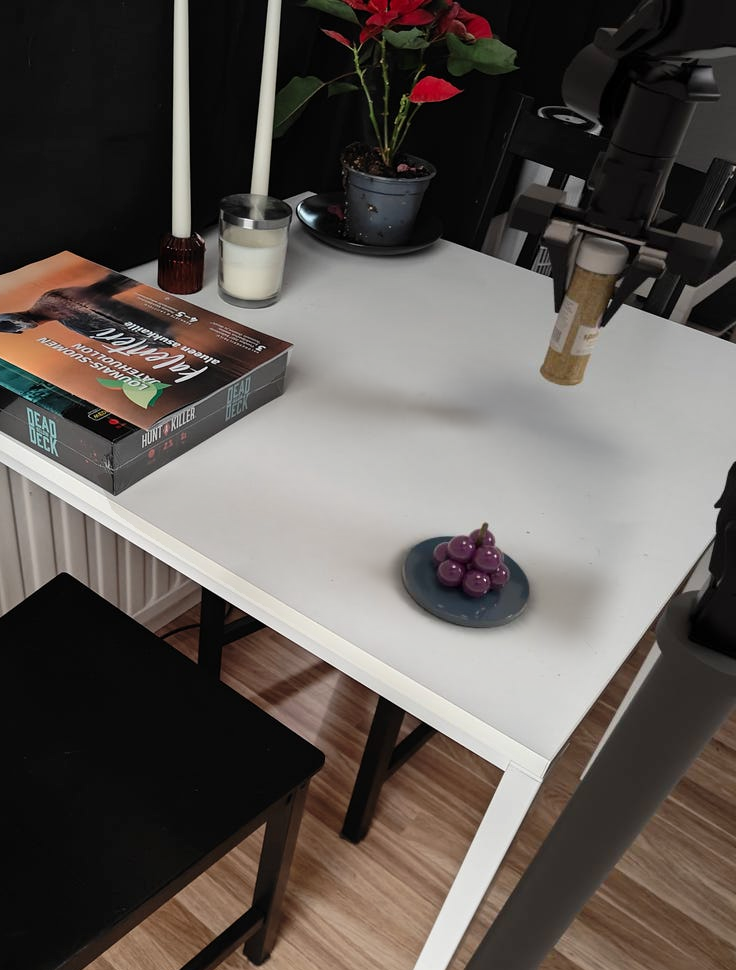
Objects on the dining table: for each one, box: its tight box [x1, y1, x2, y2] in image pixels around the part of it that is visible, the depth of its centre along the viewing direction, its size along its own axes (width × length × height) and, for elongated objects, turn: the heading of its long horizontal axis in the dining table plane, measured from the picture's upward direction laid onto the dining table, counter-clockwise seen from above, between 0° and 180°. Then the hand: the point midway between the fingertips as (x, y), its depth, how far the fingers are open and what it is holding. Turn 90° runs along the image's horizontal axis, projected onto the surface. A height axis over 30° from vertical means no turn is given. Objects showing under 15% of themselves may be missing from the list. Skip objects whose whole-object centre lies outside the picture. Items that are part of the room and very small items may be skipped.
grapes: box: [401, 521, 531, 628], centre depth 76 cm, size 11×11×7 cm
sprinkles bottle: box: [539, 237, 630, 387], centre depth 89 cm, size 5×5×13 cm
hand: (580, 318), depth 89 cm, fingers closed on sprinkles bottle, 4 cm apart
